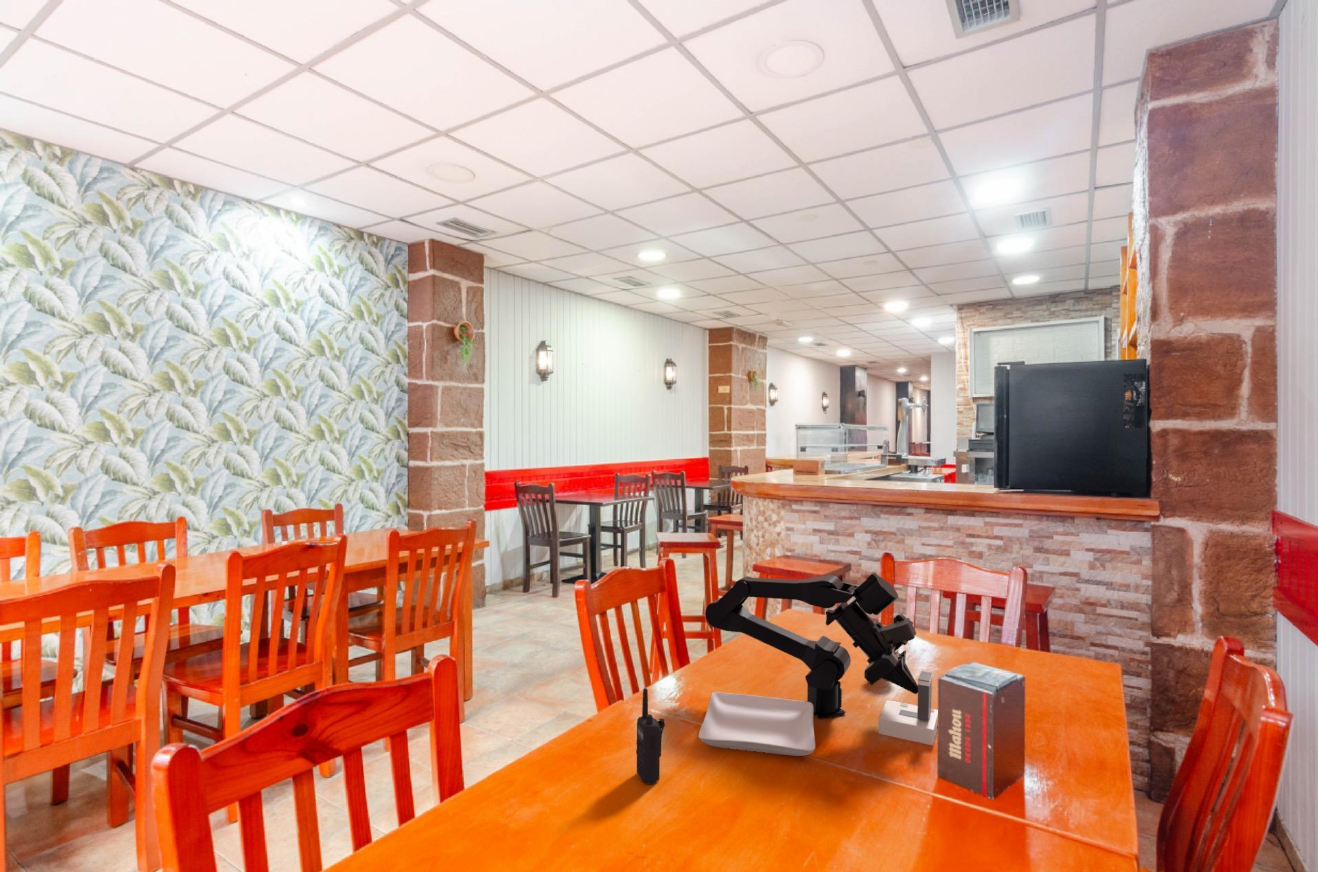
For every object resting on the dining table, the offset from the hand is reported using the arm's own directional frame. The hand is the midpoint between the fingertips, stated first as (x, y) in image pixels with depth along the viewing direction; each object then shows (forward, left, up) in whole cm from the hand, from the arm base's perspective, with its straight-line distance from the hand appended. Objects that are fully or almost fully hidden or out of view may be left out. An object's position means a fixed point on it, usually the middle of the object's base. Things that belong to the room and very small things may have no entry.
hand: (917, 692), depth 133 cm
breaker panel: (-1, +1, -8) cm, 8 cm away
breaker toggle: (+1, -1, -4) cm, 4 cm away
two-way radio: (-55, +5, -8) cm, 56 cm away
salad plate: (-29, +12, -8) cm, 33 cm away
